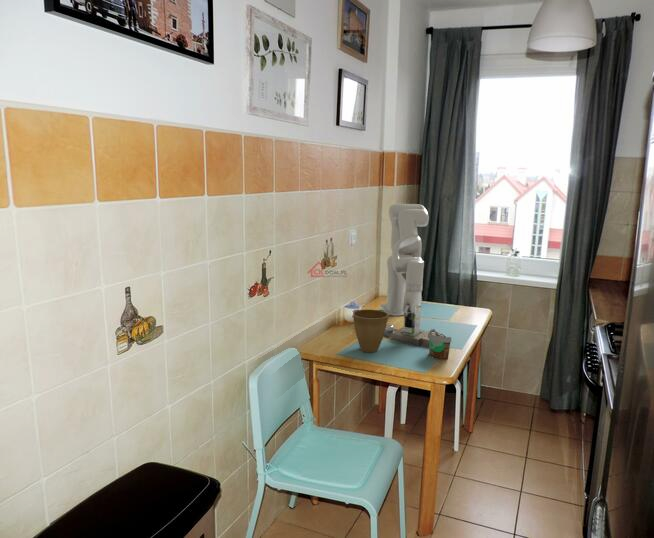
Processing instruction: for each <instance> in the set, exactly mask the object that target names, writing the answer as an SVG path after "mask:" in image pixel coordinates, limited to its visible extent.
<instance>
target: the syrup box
mask: <svg viewBox="0 0 654 538" xmlns="http://www.w3.org/2000/svg"><path fill="white" fill-rule="evenodd" d="M408 312H411V311H408ZM421 315H422V303H421V304H418V305H416V306H415V307H414V313H412V318H411V319H412V328H408V327H405V316H404V315H403V325H402V326H403V334H407V335H411V336H416V335H418V334H420V330H421V317H422V316H421ZM409 316H410V314H409Z"/></svg>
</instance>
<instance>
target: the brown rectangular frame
mask: <svg viewBox="0 0 654 538" xmlns="http://www.w3.org/2000/svg"><path fill="white" fill-rule="evenodd" d="M429 331H430V330H429ZM429 331H428V330H423V329H420V334H418V335H417V336H411V335H407V334H403V327H401V328H398V330H397V331H395V332H393V333H391V337H395V338H400V339H404V340H408V341H413V342H417V343H419V342H420V345H419V346H424V347H429V338H428V337H427V336H428V333H429Z"/></svg>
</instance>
